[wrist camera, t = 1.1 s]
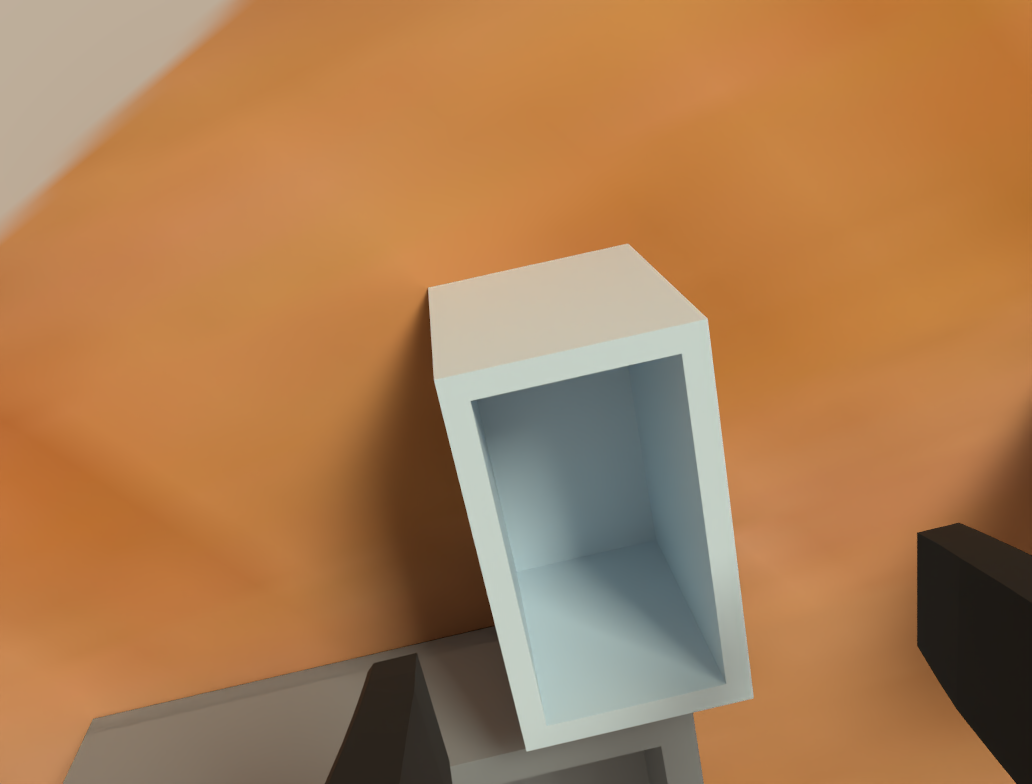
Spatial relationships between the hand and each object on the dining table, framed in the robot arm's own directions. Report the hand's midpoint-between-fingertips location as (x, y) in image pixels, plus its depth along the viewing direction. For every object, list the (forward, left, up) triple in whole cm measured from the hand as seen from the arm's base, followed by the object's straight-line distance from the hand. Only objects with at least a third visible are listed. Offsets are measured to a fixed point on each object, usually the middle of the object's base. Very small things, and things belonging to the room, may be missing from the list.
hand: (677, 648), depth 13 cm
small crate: (-1, 0, -10) cm, 10 cm away
